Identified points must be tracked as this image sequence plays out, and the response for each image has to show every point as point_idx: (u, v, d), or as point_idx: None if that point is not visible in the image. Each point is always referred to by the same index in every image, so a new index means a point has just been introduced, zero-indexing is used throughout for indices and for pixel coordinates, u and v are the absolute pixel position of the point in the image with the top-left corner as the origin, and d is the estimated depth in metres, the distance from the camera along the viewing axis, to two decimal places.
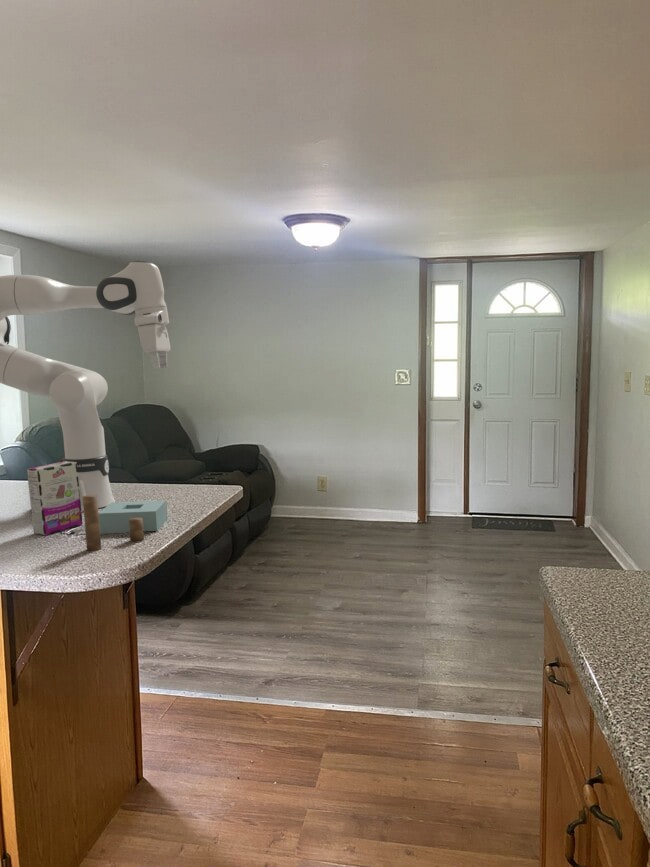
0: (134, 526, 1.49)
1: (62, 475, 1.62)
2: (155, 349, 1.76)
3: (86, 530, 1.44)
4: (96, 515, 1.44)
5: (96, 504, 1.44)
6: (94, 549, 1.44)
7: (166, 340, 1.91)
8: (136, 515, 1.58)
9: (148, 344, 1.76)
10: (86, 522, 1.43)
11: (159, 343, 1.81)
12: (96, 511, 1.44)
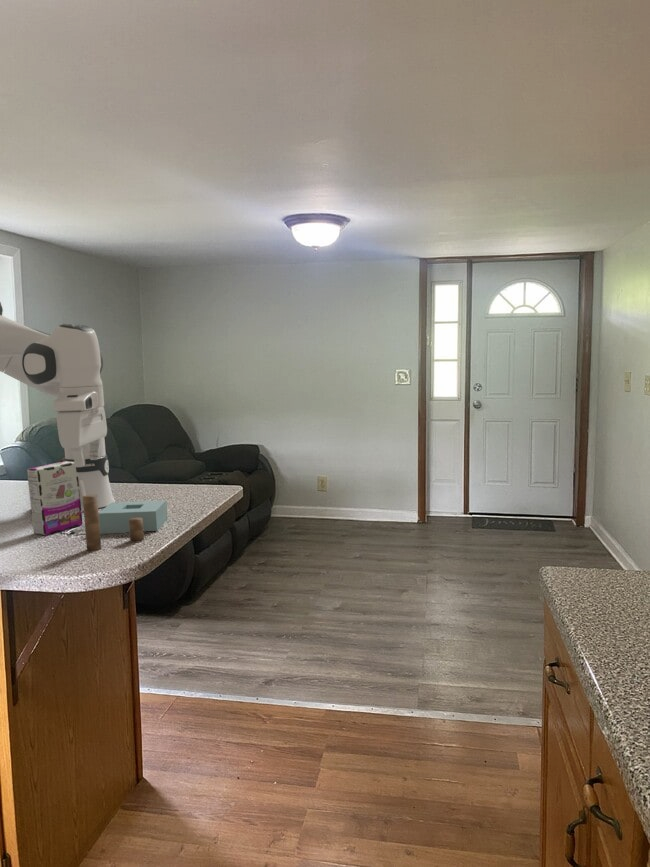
0: (134, 526, 1.49)
1: (62, 475, 1.62)
2: (77, 445, 1.33)
3: (86, 530, 1.44)
4: (96, 515, 1.44)
5: (96, 504, 1.44)
6: (94, 549, 1.44)
7: (100, 424, 1.47)
8: (136, 515, 1.58)
9: (68, 438, 1.32)
10: (86, 522, 1.43)
11: (86, 434, 1.38)
12: (96, 511, 1.44)
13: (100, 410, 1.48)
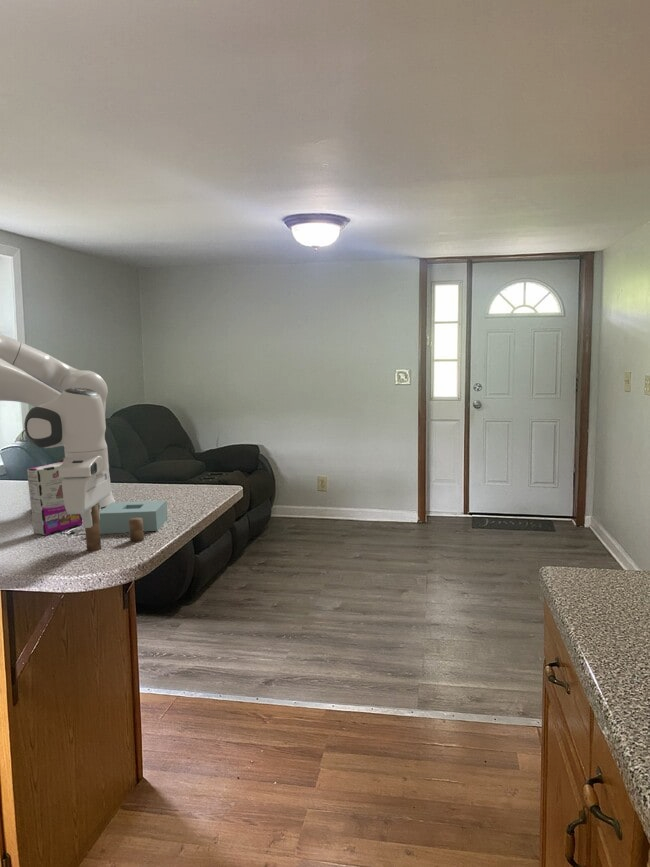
0: (134, 526, 1.49)
1: None
2: (82, 511, 1.35)
3: (86, 530, 1.44)
4: (96, 515, 1.44)
5: (96, 504, 1.44)
6: (94, 549, 1.44)
7: (104, 484, 1.49)
8: (136, 515, 1.58)
9: (73, 505, 1.34)
10: None
11: (91, 498, 1.39)
12: (96, 511, 1.44)
13: (104, 470, 1.49)
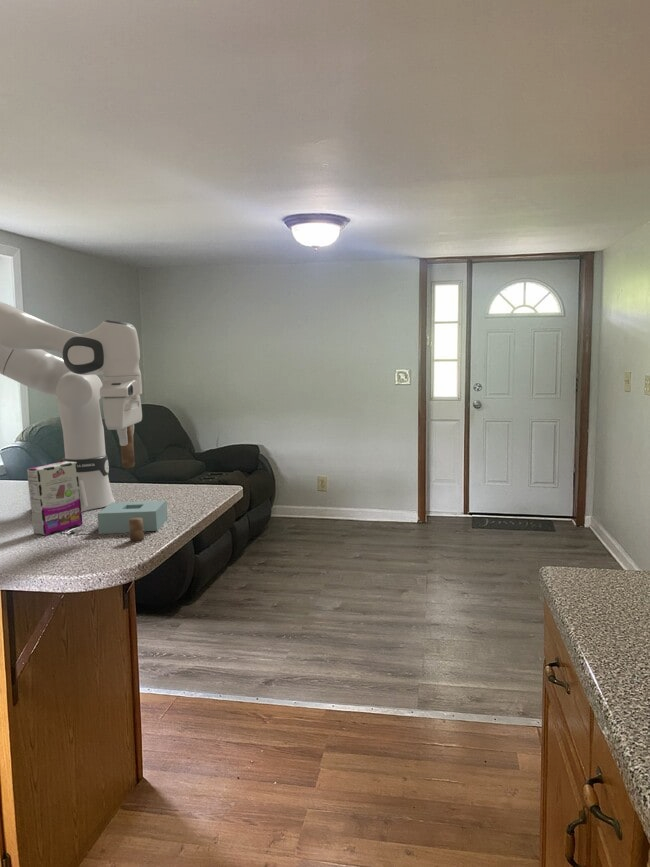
0: (134, 526, 1.49)
1: (62, 475, 1.62)
2: (120, 427, 1.51)
3: (122, 448, 1.60)
4: (131, 435, 1.60)
5: (131, 425, 1.60)
6: (129, 466, 1.60)
7: (137, 410, 1.65)
8: (136, 515, 1.58)
9: (113, 421, 1.50)
10: None
11: (127, 418, 1.55)
12: (131, 431, 1.60)
13: (137, 397, 1.65)
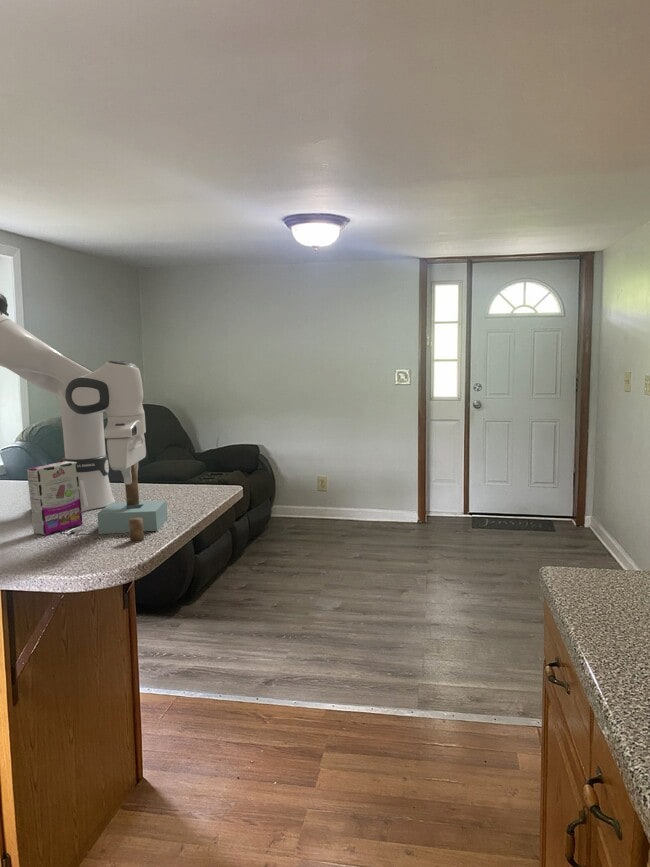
0: (134, 526, 1.49)
1: (62, 475, 1.62)
2: (125, 468, 1.53)
3: (126, 487, 1.62)
4: (135, 473, 1.62)
5: (135, 463, 1.62)
6: (133, 503, 1.62)
7: (141, 447, 1.67)
8: (136, 515, 1.58)
9: (117, 462, 1.52)
10: None
11: (131, 458, 1.57)
12: (135, 470, 1.62)
13: (141, 435, 1.67)
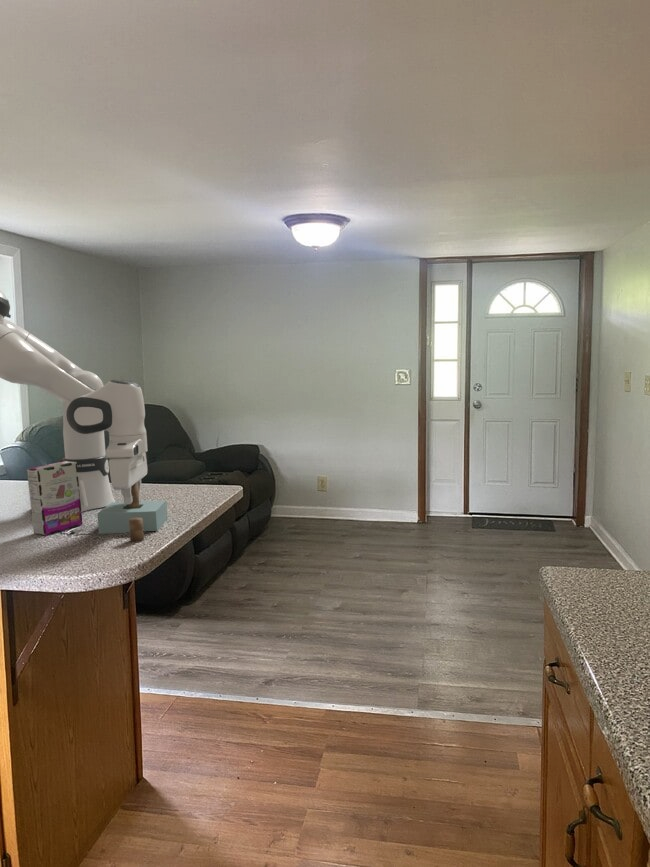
0: (134, 526, 1.49)
1: (62, 475, 1.62)
2: (126, 487, 1.53)
3: None
4: (137, 496, 1.63)
5: (137, 486, 1.63)
6: None
7: (143, 465, 1.68)
8: (136, 515, 1.58)
9: (119, 482, 1.53)
10: None
11: (133, 477, 1.58)
12: (137, 492, 1.63)
13: (142, 453, 1.68)
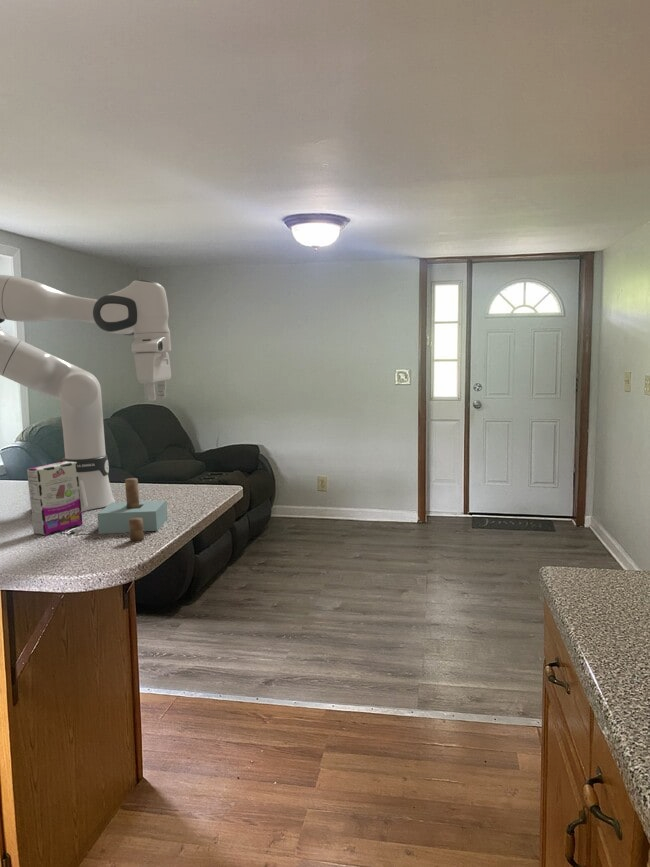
0: (134, 526, 1.49)
1: (62, 475, 1.62)
2: (151, 381, 1.58)
3: None
4: (137, 496, 1.63)
5: (137, 486, 1.63)
6: None
7: (166, 368, 1.72)
8: (136, 515, 1.58)
9: (144, 375, 1.57)
10: (128, 502, 1.62)
11: (157, 373, 1.62)
12: (137, 492, 1.63)
13: (166, 356, 1.72)
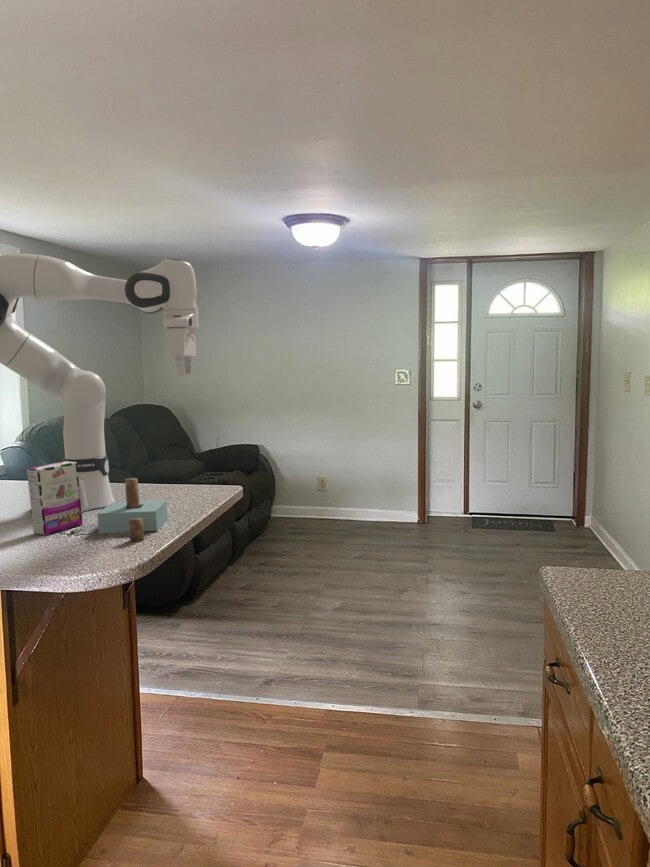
0: (134, 526, 1.49)
1: (62, 475, 1.62)
2: (182, 355, 1.65)
3: None
4: (137, 496, 1.63)
5: (137, 486, 1.63)
6: None
7: (193, 345, 1.79)
8: (136, 515, 1.58)
9: (175, 349, 1.64)
10: (128, 502, 1.62)
11: (186, 348, 1.70)
12: (137, 492, 1.63)
13: None
